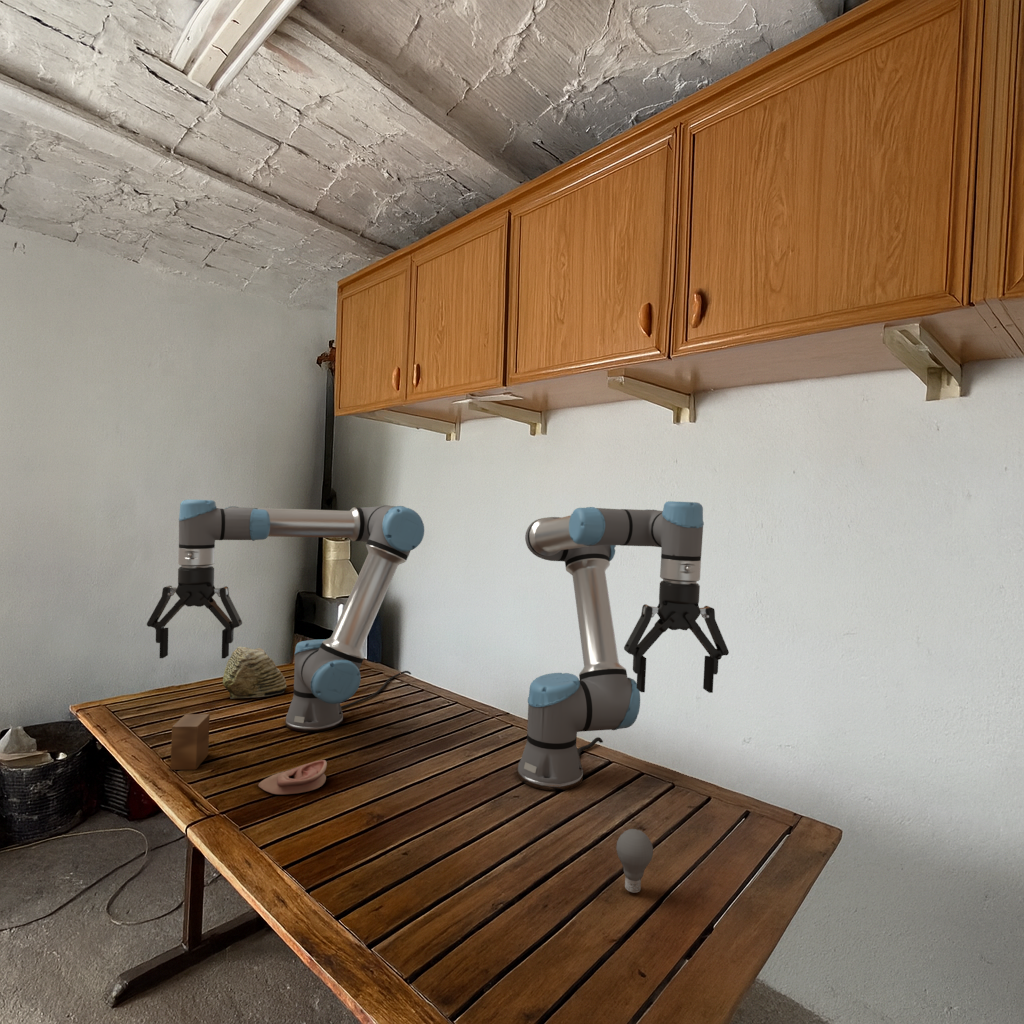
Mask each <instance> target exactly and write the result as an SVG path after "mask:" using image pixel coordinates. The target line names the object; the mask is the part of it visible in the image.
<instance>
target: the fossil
mask: <svg viewBox="0 0 1024 1024" xmlns="http://www.w3.org/2000/svg"><path fill="white" fill-rule="evenodd" d="M222 676H223V677H222V685H223V687H224V688H225V690H226V691H228V693H229V698H230V699H250V698H264V697H271V696H275V695H281V694H284V693H285V691H286V689H287V687H288V686H287V680H286V678H285V676H284V674H283V673H282V672H281V669H279V668H278V667H277V665H276V663H275V662H274V660H273V659H272V658H271V657H270V656H269V655H268V654H267V653H266V652H265V650H264V649H263V648H260V647H258V648H251V647H247V646H246V647H245V646H238V647H237V648H236V649H235V650H233V651H232V653H231V656H230V657H229V659H228V660H227V663H226V666H225V668H224V671H223V675H222Z"/></svg>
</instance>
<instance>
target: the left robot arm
mask: <svg viewBox="0 0 1024 1024" xmlns="http://www.w3.org/2000/svg"><path fill="white" fill-rule="evenodd" d="M179 505H180V506H179V517H178V565H179V566H180V567H179V568H178V569H177V587H174V586H172V585H166V586H164V587H162V591H161V597H160V599H159V601H158V602H157V604H156V606H155V608H154V610H153V612H152V613H151V615H150V617H149V618H148V620H147V623H146V626H147V627H150V628H154V630H155V643H156V644H159V657H158V659H164V658H166V657H167V656H168V655H169V627H166V626H167V624H168V623H169V622H170V621H171V620H172V619H173V618H174V617H175V616H176V615H177V613H179V611H180V610H181V609H182V608H183V607H185V606H186V607H199V608H200V607H205V608H206V609H208V610H209V611H210V613H212V615H213V616H214V617H215V618H216V619H217V621H219V623H220V624H221V625H222V626H223V627H224V628H223V629H222V630H221V659H226V658H228V657H229V655H230V644H232V643H233V642H234V629H235V628H239V627H240V626H241V625H243V620H242V618H241V617H240V614H239V612H238V610H237V608H236V607H235V606H236V605H234V603H233V601H232V598H231V597H230V591H229V587H228V586H222V587H215V567H214V566H213V565H214V564H215V555H216V554H215V553H216V551H215V548H216V544H215V543H216V541H253V542H254V541H261V540H267V539H268V537H269V538H270V537H274V538H275V537H278V538H279V537H280V538H281V537H282V538H347V539H350V541H351V542H364V543H366V544H365V547H366V549H367V552H368V553H367V555H366V558H365V560H364V562H363V564H362V567H361V569H360V572H359V573H358V576H357V578H356V581H355V582H354V585H353V587H352V589H351V592H350V594H349V596H348V598H347V600H346V603H345V604H344V607H343V609H342V612H341V614H340V616H339V619H338V620H337V622H336V625H335V628H334V629H333V632H332V634H331V636H330V637H329V638H326V639H325V638H324V639H307V640H302V641H299V642H297V644H295V650H294V655H293V656H294V672H293V673H294V674H293V695H292V696H293V697H292V699H291V702H290V704H289V708H288V711H287V713H286V715H285V726H286V728H287V729H289V730H291V731H294V732H295V731H296V732H301V733H316V732H325V731H329V730H332V729H335V728H337V727H339V726H340V725H342V723H343V722H344V714H343V709H345V708H347V707H348V708H349V707H350V706H353V705H355V704H359V703H360V702H364V701H366V700H369V699H371V698H373V697H374V696H376V695H378V694H379V693H381V691H382V690H383V689H384V688H386V686H387V685H388V684H389V682H390V681H391V680H393V679H394V678H397V677H399V676H401V675H403V674H408V675H412V673H411V672H410V671H409V670H403V671H400V672H398V673H397V674H394V675H392V676H390V677H389V678H388V679H387V680H386V681H385V682H384V683H383V685H382V686H381V687H380V688H379V689H378V690H377V691H375V692H374V693H372V694H370V695H368V696H365V697H363V698H360V699H356V700H355V701H352V702H350V703H346V704H344V705H341V703H344V702H346V701H348V700H349V699H351V698H352V697H353V696H354V695H356V693H357V691H358V690H359V688H360V685H361V680H362V679H361V678H362V676H361V671H360V669H361V666H362V664H363V662H364V659H365V655H364V651H363V647H364V645H365V641H366V640H367V638H368V636H369V633H370V631H371V629H372V626H373V624H374V622H375V619H376V617H377V615H378V613H379V610H380V608H381V606H382V604H383V601H384V599H385V597H386V595H387V592H388V589H389V587H390V585H391V582H392V580H393V578H394V575H395V573H396V571H397V569H398V567H399V566H400V565H402V564H405V563H406V562H407V560H408V558H409V556H410V553H411V551H413V550H415V549H417V548H418V547H419V545H421V543H422V541H423V540H424V536H425V524H424V521H423V519H422V517H421V515H420V514H419V513H418V512H417V511H416V510H414V509H413V508H410V507H406V506H404V505H377V506H367V507H355V506H354V507H351V509H350V510H338V509H337V510H336V509H307V508H306V509H304V508H274V507H273V508H272V507H270V508H269V507H243V506H242V507H240V506H233V505H232V506H228V507H225V508H220V507H217V504H216V501H215V500H213V499H184V500H182V501H181V503H180V504H179ZM175 594H176V595H177V597H178V598H179V599H178V600H177V601H176V602H175V603H174V605H173V606H172V607H171V608H170V609H169V610H168V611H167V612H166V614H165V615H164V616H163V617H161V616H162V615H163V612H164V611H165V609H166V607H167V606H168V603H169V602H170V600H171V597H174V595H175ZM215 594H216V595H217V597H219V598H220V601H221V603H222V605H223V607H224V609H225V611H226V612H227V614H226V613H225V612H224V611H223V610H222V608H221V607H220V606H219V604H217V601H216V600H215V599H214V595H215ZM160 618H161V619H160ZM400 673H401V674H400Z"/></svg>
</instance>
